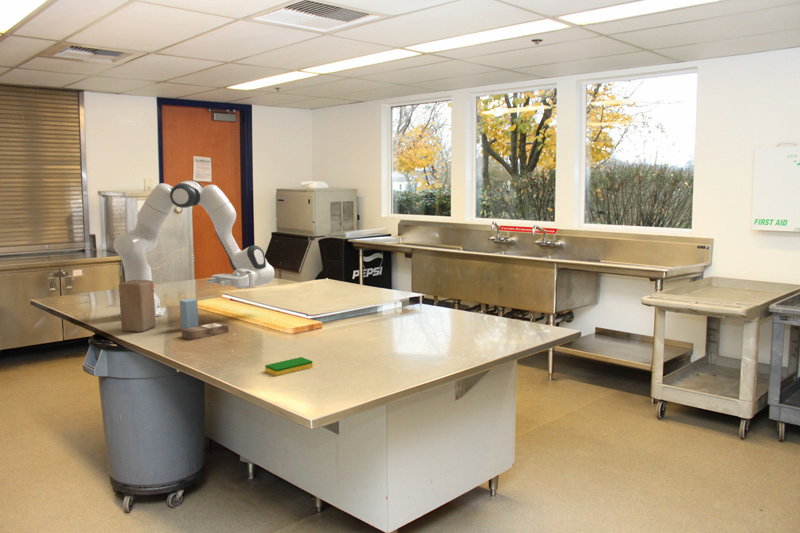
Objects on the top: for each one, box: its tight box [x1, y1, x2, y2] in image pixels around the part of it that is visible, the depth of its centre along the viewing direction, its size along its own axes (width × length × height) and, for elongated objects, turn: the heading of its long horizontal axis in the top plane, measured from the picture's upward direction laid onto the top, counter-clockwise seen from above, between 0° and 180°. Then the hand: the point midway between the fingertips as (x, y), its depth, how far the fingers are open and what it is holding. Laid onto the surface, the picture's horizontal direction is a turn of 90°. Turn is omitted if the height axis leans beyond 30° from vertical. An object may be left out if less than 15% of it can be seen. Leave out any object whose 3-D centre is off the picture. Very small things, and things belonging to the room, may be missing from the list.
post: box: [179, 298, 199, 330], centre depth 264 cm, size 5×5×12 cm
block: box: [118, 280, 157, 333], centre depth 264 cm, size 10×10×20 cm
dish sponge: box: [264, 356, 314, 377], centre depth 207 cm, size 7×14×2 cm, turn 132°
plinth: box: [180, 321, 229, 341], centre depth 255 cm, size 16×8×3 cm, turn 138°
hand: (214, 282), depth 272 cm, fingers open, 8 cm apart
